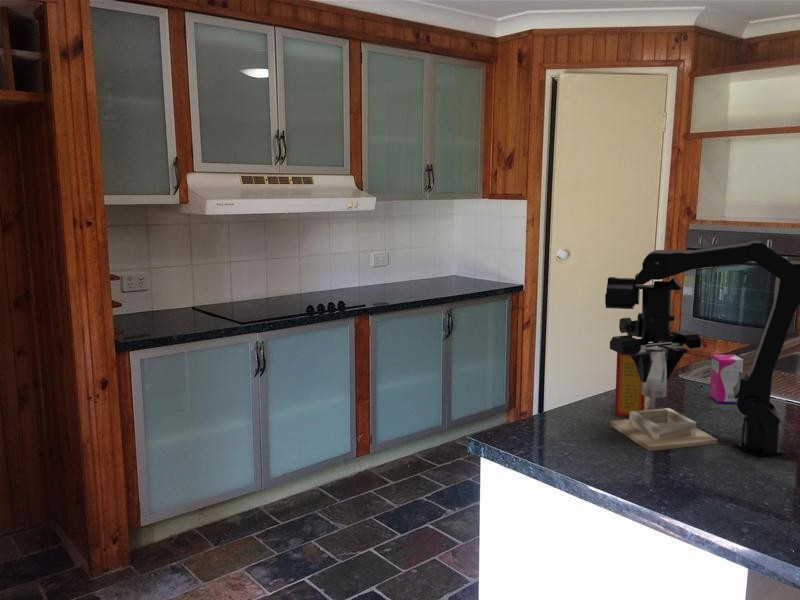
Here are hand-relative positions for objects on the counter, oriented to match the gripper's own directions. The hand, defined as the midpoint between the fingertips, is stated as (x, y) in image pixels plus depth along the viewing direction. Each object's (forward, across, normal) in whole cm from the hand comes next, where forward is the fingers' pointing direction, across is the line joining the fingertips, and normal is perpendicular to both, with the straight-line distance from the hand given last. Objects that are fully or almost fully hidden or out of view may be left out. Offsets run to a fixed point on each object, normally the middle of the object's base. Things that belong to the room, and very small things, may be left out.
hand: (654, 381), depth 143 cm
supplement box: (+13, -32, -17) cm, 39 cm away
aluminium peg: (+3, 0, 0) cm, 3 cm away
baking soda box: (+13, -5, -16) cm, 21 cm away
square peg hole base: (+13, -3, -1) cm, 13 cm away
